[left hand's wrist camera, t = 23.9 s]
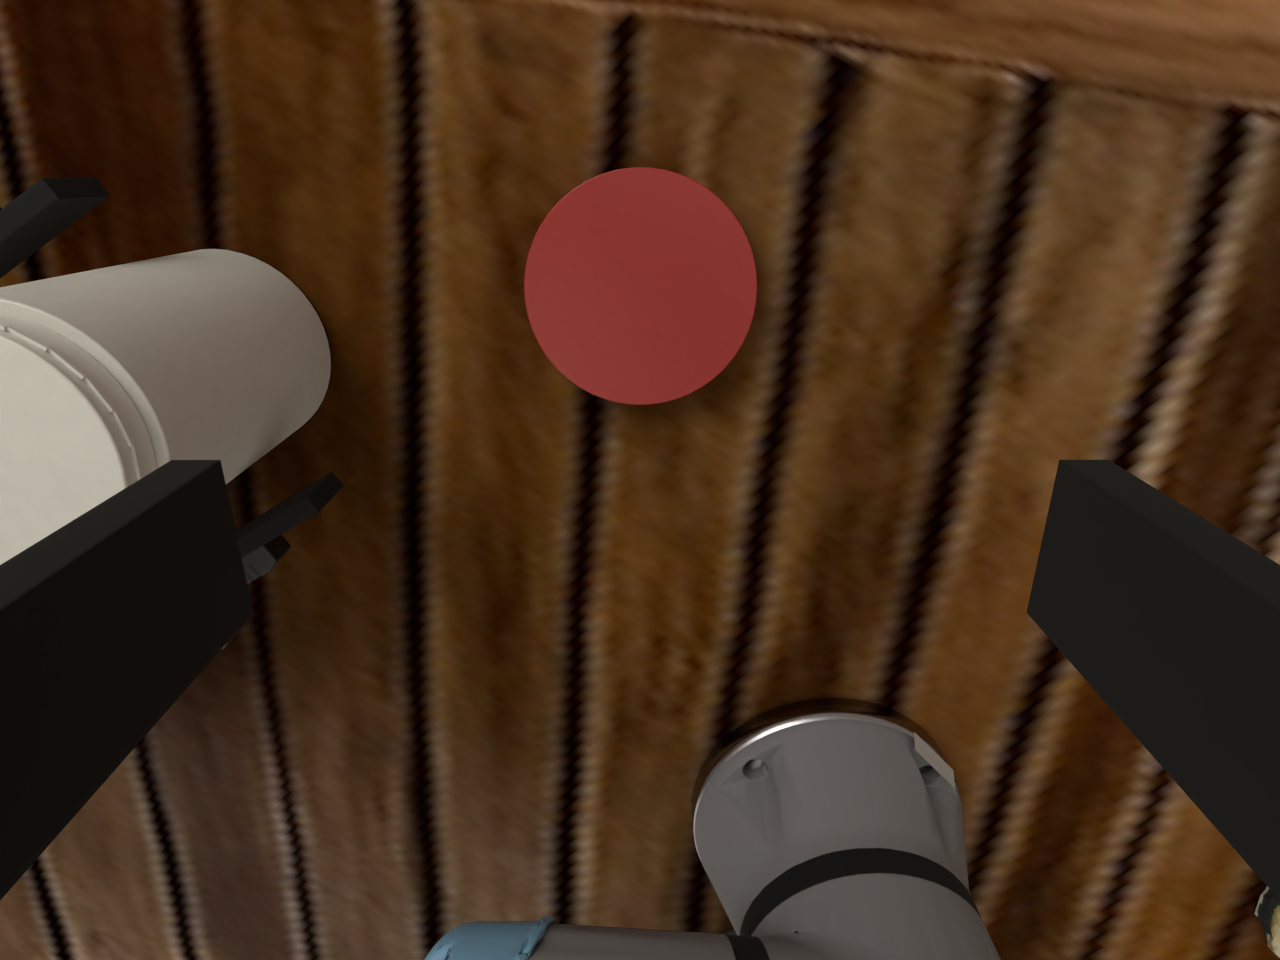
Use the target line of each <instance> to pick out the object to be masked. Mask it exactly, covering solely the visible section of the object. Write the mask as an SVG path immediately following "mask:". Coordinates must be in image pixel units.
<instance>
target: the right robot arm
mask: <svg viewBox="0 0 1280 960" xmlns="http://www.w3.org/2000/svg"><path fill="white" fill-rule="evenodd" d="M109 196H110V195H109V194H108V193H107V191H106V190H105V189H104V188H103V186H102V185H101V184H100V183H99V181H98V180H97V179H96V178H95V177H67V178H41V179H40V180H39V181H38V182H36V183H35V184H34V185H32V186H31V187H30V188H29V189H27V190H26V191H25V192H24V193H22V194H21V195H20V196H18V197H17V198H16V199H15V200H13V201H12V202H11V203H9V204H8V205H7V206H6V207H4V208H3V209H2V208H1V207H0V278H1V277H3V276H4V275H5V274H6V273H8V272H9V271H10V270H12V269H13V268H14V267H16V266H17V265H18V264H20V263H21V262H22V261H24V260H25V259H26V258H28V257H29V256H30V255H32V254H33V253H34V252H36V251H37V250H38V249H40V248H41V247H42V246H44V245H45V244H46V243H48V242H49V241H50V240H52V239H53V238H54V237H56V236H57V235H58V234H59V233H61V232H62V231H63V230H65V229H66V228H67V227H69V226H70V225H71V224H73V223H74V222H75V221H77V220H78V219H79V218H81V217H82V216H83V215H85V214H86V213H87V212H89V211H90V210H91V209H93V208H94V207H95V206H97V205H98V204H99V203H101V202H102V201H103V200H105V199H106V198H107V197H109ZM342 486H343V485H342V483H341V482H340V481H339V480H338V478H337V477H336V476H335V475H334V473H333V472H331V473H329V474H327V475H326V476H324V477H322V478H321V479H319V480H318V481H316V482H314V483H313V484H311V485H309V486H308V487H306V488H304V489H303V490H301V491H300V492H298V493H296V494H295V495H293V496H291V497H290V498H288V499H286V500H285V501H283V502H282V503H280V504H278V505H277V506H275V507H273V508H272V509H270V510H268V511H267V512H265V513H264V514H262V515H260V516H259V517H257V518H255V519H254V520H252V521H250V522H249V523H247V524H246V525H244V526H242V527H241V528H239V529H237V530H236V534H237V539H238V544H239V548H240V553H241V558H242V562H243V567H244V572H245V576H246V581H247V584H248V583H250V582H252V581H253V580H255V579H257V578H259V577H260V576H262V575H264V574H265V573H267V572H269V571H270V570H272V568H273V567H274V566H275V565H276V564H277V563H278V562H279V561H280V560H281V559H282V557H283V556H284V555H285V554H286V553H287V551H288V549H289V548H290V544H289V543H288V542H287V541H286V540H285V539H284V537H283V536H282V535H281V534H283V533H285V532H286V531H288V530H290V529H291V528H293V527H295V526H296V525H298V524H300V523H301V522H303V521H305V520H306V519H308V518H310V517H311V516H313V515H315V514H316V513H318V512H319V511H320V510H321V509H322V508H323V507H324V506H325V505H326V504H327V503H328V502H329V500H330V499H331V498H332V497H333V496H334V495H335V494H336V493H337V492H338V491H339V490H340V489H341V488H342ZM252 609H253V606H252ZM253 613H254V610H253ZM253 613H252V614H251V616H250V617H249V618H248V619H247V620H246V621H245V622H244V624H243V625H242V626H241V627H240V628H239V629H238V630H237V631H236V633H235V634H234V635H233V636H232V637H231V638H230V639H229V641H228V642H227V643H226V644H225V645H224V646H223V647H222V649H224V648H225V647H226V646H227V645H228V644H229V642H230V641H231V640H232V639H233V638H234V637H235V635H236V634H237V633H238V632H239V631H240V630H241V629H242V627H243V626H244V625H245V624H246V623H247V622H248V620H249V619H250V618H251V617H252V615H253ZM222 649H221V650H222Z"/></svg>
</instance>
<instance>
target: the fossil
mask: <svg viewBox="0 0 1280 960" xmlns="http://www.w3.org/2000/svg"><path fill="white" fill-rule="evenodd" d="M1254 914H1255V915H1256V916H1257V917H1258V918H1259V919H1260V921H1261V923H1262V925H1263V928H1264V933H1265V938H1266V942H1267V945H1268V947H1269V948H1270V949H1271V951H1272V952H1273V953H1274V954H1275V955H1276V956H1277V957H1278V958H1280V900H1279V899H1278V898H1277V897H1276V895H1275V894H1274V893H1273V892H1272V891H1271V890H1270V889H1269V887H1268V886H1267V887H1266V889H1265V890H1264V891H1263V893H1262V894H1261V895H1260V898H1259V901H1258V904H1257V907H1256V910H1255V913H1254Z"/></svg>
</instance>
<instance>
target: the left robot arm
mask: <svg viewBox="0 0 1280 960" xmlns="http://www.w3.org/2000/svg"><path fill="white" fill-rule="evenodd" d="M252 613H253V609H252V604H251V600H250V595H249V590H248V586H247V581H246V576H245V572H244V567H243V562H242V558H241V553H240V548H239V544H238V539H237V534H236V530H235V525H234V521H233V516H232V511H231V507H230V502H229V497H228V493H227V488H226V483H225V479H224V474H223V469H222V465H221V460H171V461H169V462H167V463H166V464H164V465H162V466H161V467H159V468H158V469H156V470H154V471H153V472H151V473H149V474H148V475H146V476H145V477H143V478H141V479H140V480H138V481H136V482H135V483H133V484H132V485H130V486H128V487H127V488H125V489H123V490H122V491H120V492H118V493H117V494H115V495H114V496H112V497H110V498H109V499H107V500H105V501H104V502H102V503H101V504H99V505H97V506H96V507H94V508H92V509H91V510H89V511H88V512H86V513H84V514H83V515H81V516H79V517H78V518H76V519H74V520H73V521H71V522H70V523H68V524H66V525H65V526H63V527H61V528H60V529H58V530H57V531H55V532H53V533H52V534H50V535H48V536H47V537H45V538H43V539H42V540H40V541H39V542H37V543H35V544H34V545H32V546H30V547H29V548H27V549H26V550H24V551H22V552H21V553H19V554H17V555H16V556H14V557H13V558H11V559H9V560H8V561H6V562H4V563H3V564H1V565H0V900H1V899H2V898H3V897H4V895H5V894H6V893H7V892H8V891H9V890H10V889H11V887H12V886H13V885H14V884H15V883H16V882H17V881H18V879H19V878H20V877H21V876H22V875H23V874H24V873H25V872H26V870H27V869H28V868H29V867H30V866H31V865H32V864H33V862H34V861H35V860H36V859H37V858H38V857H39V856H40V854H41V853H42V852H43V851H44V850H45V849H46V848H47V846H48V845H49V844H50V843H51V842H52V841H53V840H54V839H55V837H56V836H57V835H58V834H59V833H60V832H61V831H62V829H63V828H64V827H65V826H66V825H67V824H68V823H69V821H70V820H71V819H72V818H73V817H74V816H75V815H76V813H77V812H78V811H79V810H80V809H81V808H82V807H83V806H84V804H85V803H86V802H87V801H88V800H89V799H90V798H91V796H92V795H93V794H94V793H95V792H96V791H97V790H98V788H99V787H100V786H101V785H102V784H103V783H104V782H105V781H106V779H107V778H108V777H109V776H110V775H111V774H112V773H113V771H114V770H115V769H116V768H117V767H118V766H119V765H120V763H121V762H122V761H123V760H124V759H125V758H126V757H127V755H128V754H129V753H130V752H131V751H132V750H133V749H134V748H135V746H136V745H137V744H138V743H139V742H140V741H141V740H142V738H143V737H144V736H145V735H146V734H147V733H148V732H149V730H150V729H151V728H152V727H153V726H154V725H155V724H156V722H157V721H158V720H159V719H160V718H161V717H162V716H163V715H164V713H165V712H166V711H167V710H168V709H169V708H170V707H171V705H172V704H173V703H174V702H175V701H176V700H177V699H178V697H179V696H180V695H181V694H182V693H183V692H184V691H185V689H186V688H187V687H188V686H189V685H190V684H191V683H192V682H193V680H194V679H195V678H196V677H197V676H198V675H199V674H200V672H201V671H202V670H203V669H204V668H205V667H206V666H207V664H208V663H209V662H210V661H211V660H212V659H213V658H214V657H215V655H216V654H217V653H218V652H219V651H220V650H221V649H222V647H223V646H224V645H225V644H226V643H227V642H228V641H229V639H230V638H231V637H232V636H233V635H234V634H235V633H236V631H237V630H238V629H239V628H240V627H241V626H242V625H243V624H244V622H245V621H246V620H247V619H248V618H249V617H250V616H251V614H252ZM1027 613H1028V614H1029V616H1030V617H1031V618H1032V619H1033V620H1034V621H1035V622H1036V624H1037V625H1038V626H1039V627H1040V628H1041V629H1042V630H1043V631H1044V633H1045V634H1046V635H1047V636H1048V637H1049V638H1050V639H1051V641H1052V642H1053V643H1054V644H1055V645H1056V646H1057V647H1058V649H1059V650H1060V651H1061V652H1062V653H1063V654H1064V655H1065V657H1066V658H1067V659H1068V660H1069V661H1070V662H1071V663H1072V664H1073V666H1074V667H1075V668H1076V669H1077V670H1078V671H1079V672H1080V674H1081V675H1082V676H1083V677H1084V678H1085V679H1086V680H1087V682H1088V683H1089V684H1090V685H1091V686H1092V687H1093V688H1094V689H1095V691H1096V692H1097V693H1098V694H1099V695H1100V696H1101V697H1102V699H1103V700H1104V701H1105V702H1106V703H1107V704H1108V705H1109V707H1110V708H1111V709H1112V710H1113V711H1114V712H1115V713H1116V715H1117V716H1118V717H1119V718H1120V719H1121V720H1122V721H1123V722H1124V724H1125V725H1126V726H1127V727H1128V728H1129V729H1130V730H1131V732H1132V733H1133V734H1134V735H1135V736H1136V737H1137V738H1138V740H1139V741H1140V742H1141V743H1142V744H1143V745H1144V746H1145V748H1146V749H1147V750H1148V751H1149V752H1150V753H1151V754H1152V755H1153V757H1154V758H1155V759H1156V760H1157V761H1158V762H1159V763H1160V765H1161V766H1162V767H1163V768H1164V769H1165V770H1166V771H1167V773H1168V774H1169V775H1170V776H1171V777H1172V778H1173V779H1174V781H1175V782H1176V783H1177V784H1178V785H1179V786H1180V787H1181V788H1182V790H1183V791H1184V792H1185V793H1186V794H1187V795H1188V796H1189V798H1190V799H1191V800H1192V801H1193V802H1194V803H1195V804H1196V806H1197V807H1198V808H1199V809H1200V810H1201V811H1202V812H1203V813H1204V815H1205V816H1206V817H1207V818H1208V819H1209V820H1210V821H1211V823H1212V824H1213V825H1214V826H1215V827H1216V828H1217V829H1218V831H1219V832H1220V833H1221V834H1222V835H1223V836H1224V837H1225V839H1226V840H1227V841H1228V842H1229V843H1230V844H1231V845H1232V846H1233V848H1234V849H1235V850H1236V851H1237V852H1238V853H1239V854H1240V856H1241V857H1242V858H1243V859H1244V860H1245V861H1246V862H1247V864H1248V865H1249V866H1250V867H1251V868H1252V869H1253V870H1254V872H1255V873H1256V874H1257V875H1258V876H1259V877H1260V878H1261V879H1262V881H1263V882H1264V883H1265V884H1266V885H1267V886H1268V887H1269V889H1270V890H1271V891H1272V892H1273V893H1274V894H1275V895H1276V897H1277V898H1278V899H1279V900H1280V565H1279V564H1277V563H1276V562H1274V561H1272V560H1271V559H1269V558H1267V557H1266V556H1264V555H1263V554H1261V553H1259V552H1258V551H1256V550H1254V549H1253V548H1251V547H1250V546H1248V545H1246V544H1245V543H1243V542H1241V541H1240V540H1238V539H1236V538H1235V537H1233V536H1232V535H1230V534H1228V533H1227V532H1225V531H1223V530H1222V529H1220V528H1219V527H1217V526H1215V525H1214V524H1212V523H1210V522H1209V521H1207V520H1206V519H1204V518H1202V517H1201V516H1199V515H1197V514H1196V513H1194V512H1192V511H1191V510H1189V509H1188V508H1186V507H1184V506H1183V505H1181V504H1179V503H1178V502H1176V501H1175V500H1173V499H1171V498H1170V497H1168V496H1166V495H1165V494H1163V493H1162V492H1160V491H1158V490H1157V489H1155V488H1153V487H1152V486H1150V485H1148V484H1147V483H1145V482H1144V481H1142V480H1140V479H1139V478H1137V477H1135V476H1134V475H1132V474H1131V473H1129V472H1127V471H1126V470H1124V469H1122V468H1121V467H1119V466H1118V465H1116V464H1114V463H1113V462H1111V461H1109V460H1059V465H1058V469H1057V474H1056V479H1055V483H1054V488H1053V493H1052V497H1051V502H1050V507H1049V511H1048V516H1047V521H1046V525H1045V530H1044V534H1043V539H1042V544H1041V548H1040V553H1039V558H1038V562H1037V567H1036V572H1035V576H1034V581H1033V586H1032V590H1031V595H1030V600H1029V604H1028V609H1027ZM692 819H693V831H694V840H695V845H696V849H697V853H698V855H699V858H700V860H701V862H702V865H703V867H704V869H705V871H706V873H707V875H708V877H709V879H710V881H711V883H712V885H713V887H714V889H715V891H716V893H717V895H718V897H719V899H720V901H721V903H722V905H723V907H724V909H725V912H726V914H727V916H728V918H729V920H730V922H731V924H732V926H733V927H731V928H729V929H728V930H726V931H725V932H724V933H723V934H718V933H701V932H684V931H668V930H651V929H634V928H617V927H600V926H583V925H566V924H556V919H555V917H543V918H542V919H541V920H539V921H475V922H469V923H466V924H462V925H460V926H457V927H456V928H454V929H452V930H451V931H449V932H448V933H447V934H445V935H444V936H443V937H442V938H441V939H440V940H439V941H438V942H437V943H436V944H435V946H434V947H433V948H432V949H431V951H430V952H429V953H428V955H427V956H426V958H425V959H424V960H1000V957H999V955H998V953H997V951H996V949H995V947H994V944H993V942H992V940H991V938H990V936H989V934H988V932H987V929H986V927H985V925H984V923H983V921H982V919H981V917H980V914H979V912H978V910H977V908H976V905H975V903H974V901H973V899H972V896H971V894H970V892H969V886H968V874H967V862H966V850H965V837H964V825H963V813H962V805H961V797H960V792H959V789H958V786H957V783H956V780H955V778H954V771H953V769H952V768H951V767H950V766H949V765H948V764H947V763H946V761H945V759H944V757H943V755H942V753H941V751H940V749H939V748H938V746H937V745H936V743H935V742H934V741H933V740H932V738H931V737H930V736H929V735H928V734H927V733H926V732H925V731H924V730H923V729H922V728H921V727H919V726H918V725H917V724H915V723H914V722H913V721H911V720H910V719H908V718H906V717H905V716H903V715H901V714H899V713H897V712H895V711H893V710H891V709H888V708H885V707H882V706H880V705H877V704H873V703H868V702H864V701H858V700H852V699H839V698H833V699H814V700H807V701H801V702H796V703H792V704H788V705H784V706H781V707H778V708H775V709H772V710H770V711H767V712H765V713H763V714H760V715H758V716H756V717H755V718H753V719H751V720H749V721H747V722H746V723H744V724H743V725H741V726H740V727H738V728H737V729H735V730H734V731H733V732H732V733H730V734H729V735H728V736H727V737H726V738H725V739H724V740H722V741H721V742H720V743H719V744H718V746H717V747H716V748H715V749H714V750H713V751H712V753H711V754H710V755H709V757H708V758H707V760H706V761H705V763H704V765H703V766H702V768H701V770H700V772H699V775H698V777H697V780H696V783H695V786H694V790H693V796H692Z"/></svg>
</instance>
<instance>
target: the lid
mask: <svg viewBox="0 0 1280 960" xmlns="http://www.w3.org/2000/svg"><path fill="white" fill-rule="evenodd" d="M524 294H525V304H526V309H527V315H528V318H529V321H530V324H531V327H532V330H533V333H534V335H535V337H536V339H537V341H538V343H539V345H540V347H541V348H542V350H543V351H544V353H545V355H546V356H547V357H548V359H549V360H550V361H551V362H552V364H553V365H554V366H555V367H556V368H557V369H558V370H559V371H560V372H561V373H562V374H563V375H564V376H565V377H566V378H567V379H569V380H570V381H571V382H573V383H574V384H576V385H577V386H578V387H580V388H582V389H584V390H585V391H587V392H589V393H591V394H593V395H596V396H598V397H601V398H603V399H606V400H610V401H614V402H618V403H624V404H632V405H650V404H658V403H664V402H668V401H672V400H675V399H678V398H681V397H683V396H686V395H688V394H691V393H692V392H694V391H696V390H698V389H700V388H701V387H703V386H704V385H706V384H707V383H709V382H710V381H711V380H713V379H714V378H715V377H716V376H717V375H718V374H719V373H720V372H722V371H723V370H724V369H725V368H726V366H727V365H728V364H729V363H730V362H731V360H732V359H733V358H734V357H735V355H736V354H737V352H738V350H739V349H740V347H741V346H742V344H743V342H744V340H745V338H746V336H747V334H748V331H749V329H750V326H751V323H752V320H753V316H754V312H755V306H756V301H757V272H756V265H755V261H754V256H753V252H752V249H751V246H750V243H749V241H748V238H747V236H746V234H745V232H744V230H743V228H742V226H741V224H740V223H739V221H738V220H737V218H736V217H735V215H734V214H733V213H732V211H731V210H730V209H729V208H728V207H727V206H726V205H725V203H724V202H723V201H722V200H721V199H720V198H719V197H717V196H716V195H715V194H714V193H713V192H711V191H710V190H709V189H708V188H706V187H704V186H703V185H701V184H700V183H698V182H696V181H695V180H693V179H690V178H688V177H686V176H684V175H681V174H679V173H675V172H672V171H668V170H665V169H658V168H650V167H631V168H624V169H617V170H613V171H610V172H606V173H603V174H600V175H598V176H596V177H593V178H591V179H589V180H587V181H585V182H583V183H582V184H580V185H579V186H577V187H576V188H574V189H572V190H571V191H570V192H569V193H568V194H567V195H565V196H564V197H563V198H562V199H561V200H560V201H559V202H558V203H557V204H556V205H555V206H554V207H553V208H552V210H551V211H550V212H549V213H548V215H547V216H546V218H545V219H544V221H543V222H542V224H541V225H540V227H539V229H538V231H537V233H536V235H535V237H534V239H533V242H532V245H531V248H530V251H529V253H528V258H527V263H526V268H525V278H524Z"/></svg>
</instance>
